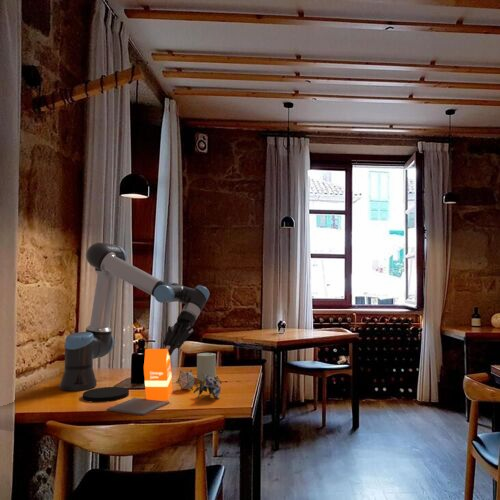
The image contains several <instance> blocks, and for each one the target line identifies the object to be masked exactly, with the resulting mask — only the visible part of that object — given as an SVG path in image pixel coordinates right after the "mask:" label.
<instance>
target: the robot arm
mask: <svg viewBox="0 0 500 500" xmlns="http://www.w3.org/2000/svg"><path fill="white" fill-rule="evenodd" d="M127 258H128V257H127V253H126V251H125V250H124V249H123V247H121V246H119V245H117V244H114V243H105V242H95V243H93V244H91V245H90V246H88V249H87V250H86V254H85V259H86V261H87V262H88V264H89V265H90V266H91V267H93V268H94V272H95V273H96V274H97V276H96V277H97V278H96V284H95V290H94V297H93V303H92V310H91V316H90V324H89V325H87V327H86V328H85V331H79V332H73V333H71V334H69V335H67V336H66V337H65V342H64V371H63V375H62V378H61V381H60V383H59V389H60V390H61V391H64V390H65V391H66V392H76V391H77V392H78V391H85V390H86V391H87V390H91V389H95V388H97V380H98V379H97V378H96V374H95V370H94V369H93V368H94V363H93V362H94V359H100V358H103V357H104V356H105V357H106V355H109V354H110V353H111V351H112V350H113V349H114V345H115V338H114V337H113V335H112V328H111V327H110V322H111V314H112V307H113V303H114V302H113V301H114V295H115V287H116V283H117V282H116V281H117V278H119V279H120V280H123V281H124V282H126V283H128V284H130V285H131V286H134V287H136V288H137V289H139V290H141V291H143V292H145V293H147V295H151V296H152V297H154V299H155V300H156V301H157V302H158V303H161V304H162V303H163V304H168V303H173V302H178V303H181V304H184V306H183V308H182V309H181V311H180V313H179V315H178V316H177V319H176V321H175V322H176V323H174V324H173V325H172V326H171V325H168V327H167V332H166V335H165V337H164V339H163V342H162V344H163V346H164V348H163V349H167V350H168V353H169V356H170V357H171V355H172V354H173V353H174V351H175V350H176V349H180V348H181V347H182V345H184V343H185V342H186V341H187V340H188V338H189V337H190V336H191V335H192V334H193V333H194V329H193V328H192V327H193V326H194V325H195V323H196V321H197V319H198V317H199V316H200V314H201V312H202V310H203V308H204V307H205V305H206V303H207V302H208V300H209V297H210V291H209V289H208V288H207V287H206V286H203V285H196V287H194V288H192V287H188V286H184V285H182V284H179V283H177V282H172V281H171V282H168V283H166V281H165V282H164V281H163V280H161V279H159V278H157V277H155V276H153V275H152V274H150V273H148V272H146V271H144V270H142V269H140V268H138V267H136V266H134V265H132V264H131V263H129V262H127Z"/></svg>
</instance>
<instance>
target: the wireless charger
mask: <svg viewBox="0 0 500 500" xmlns="http://www.w3.org/2000/svg"><path fill="white" fill-rule="evenodd" d="M129 395H130V390H129V388H127V387H121V386H106V387H105V386H102V387H95V388H91V389H87V390H86V391H84V392H83V393H82V400H83V401H86V402H89V401H92V402H91V403H108V402H107V401H109V402H114V401H115V402H116V401H119V400H123V399H126V398H128V397H129Z"/></svg>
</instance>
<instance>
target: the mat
mask: <svg viewBox="0 0 500 500" xmlns="http://www.w3.org/2000/svg"><path fill="white" fill-rule="evenodd" d="M169 404H170V401H158V400H149V399H146V398H141V397H139V398H138V397H133V398H131V399H128V400H126V401H123V402H120V403H118V404H116V405H112V406H110V407H108V408H107V409H106V410H107V411H109V412H116V413H124V414H125V413H126V414H132V415H141V416H145V415H148V414H150V413H152V412H154V411H157V410H158V409H161V408H163V407H164V406H167V405H169Z"/></svg>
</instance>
